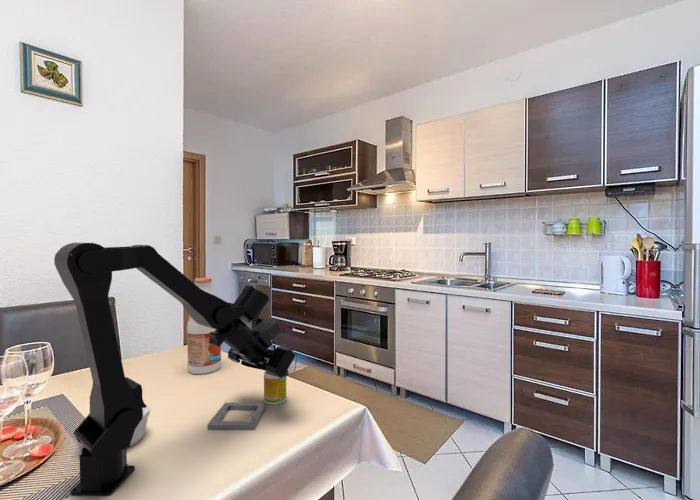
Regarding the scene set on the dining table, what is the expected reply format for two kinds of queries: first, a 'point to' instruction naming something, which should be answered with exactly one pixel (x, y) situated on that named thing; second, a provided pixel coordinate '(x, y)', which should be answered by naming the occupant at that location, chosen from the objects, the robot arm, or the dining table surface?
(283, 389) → the supplement bottle
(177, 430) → the dining table surface
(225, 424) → the frame
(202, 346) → the fruit juice
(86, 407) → the dining table surface
